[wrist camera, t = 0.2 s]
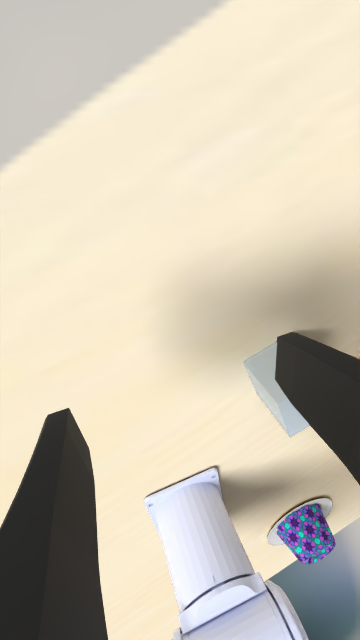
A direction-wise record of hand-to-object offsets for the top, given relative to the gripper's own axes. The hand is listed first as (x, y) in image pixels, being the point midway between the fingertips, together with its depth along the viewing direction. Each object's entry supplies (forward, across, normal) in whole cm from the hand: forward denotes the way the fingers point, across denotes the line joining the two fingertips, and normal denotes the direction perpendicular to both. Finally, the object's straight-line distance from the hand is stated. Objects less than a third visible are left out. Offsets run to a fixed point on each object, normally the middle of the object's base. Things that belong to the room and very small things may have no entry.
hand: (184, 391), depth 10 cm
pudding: (+11, -17, +47) cm, 51 cm away
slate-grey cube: (+10, -11, +12) cm, 19 cm away
